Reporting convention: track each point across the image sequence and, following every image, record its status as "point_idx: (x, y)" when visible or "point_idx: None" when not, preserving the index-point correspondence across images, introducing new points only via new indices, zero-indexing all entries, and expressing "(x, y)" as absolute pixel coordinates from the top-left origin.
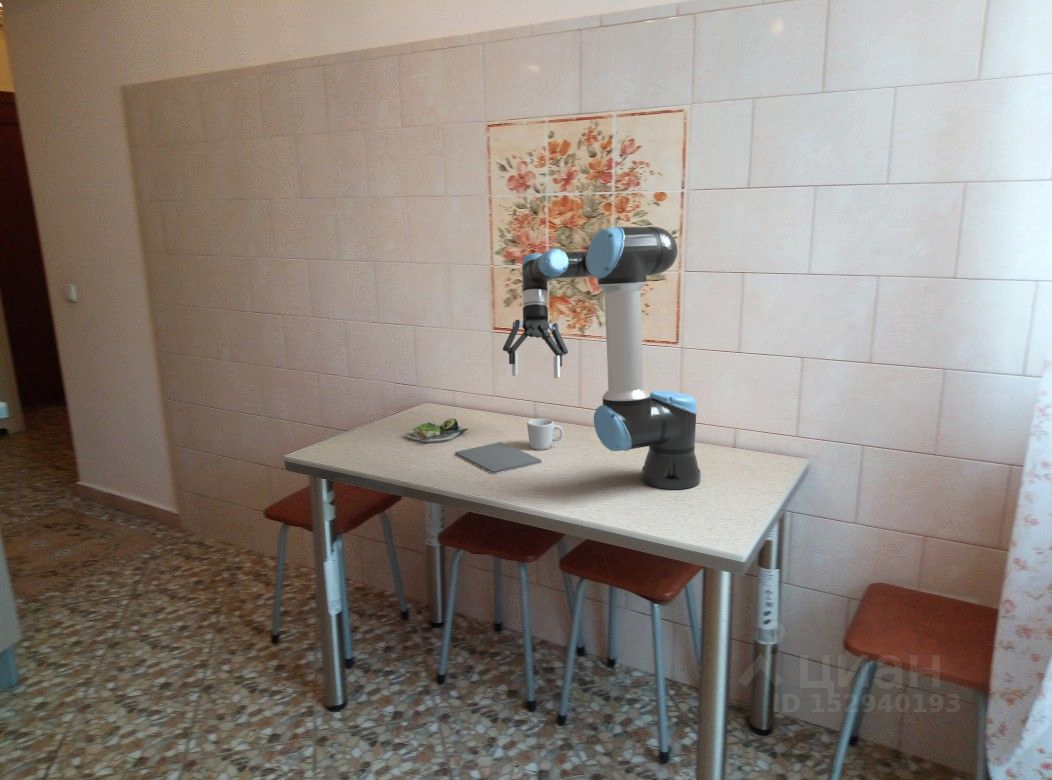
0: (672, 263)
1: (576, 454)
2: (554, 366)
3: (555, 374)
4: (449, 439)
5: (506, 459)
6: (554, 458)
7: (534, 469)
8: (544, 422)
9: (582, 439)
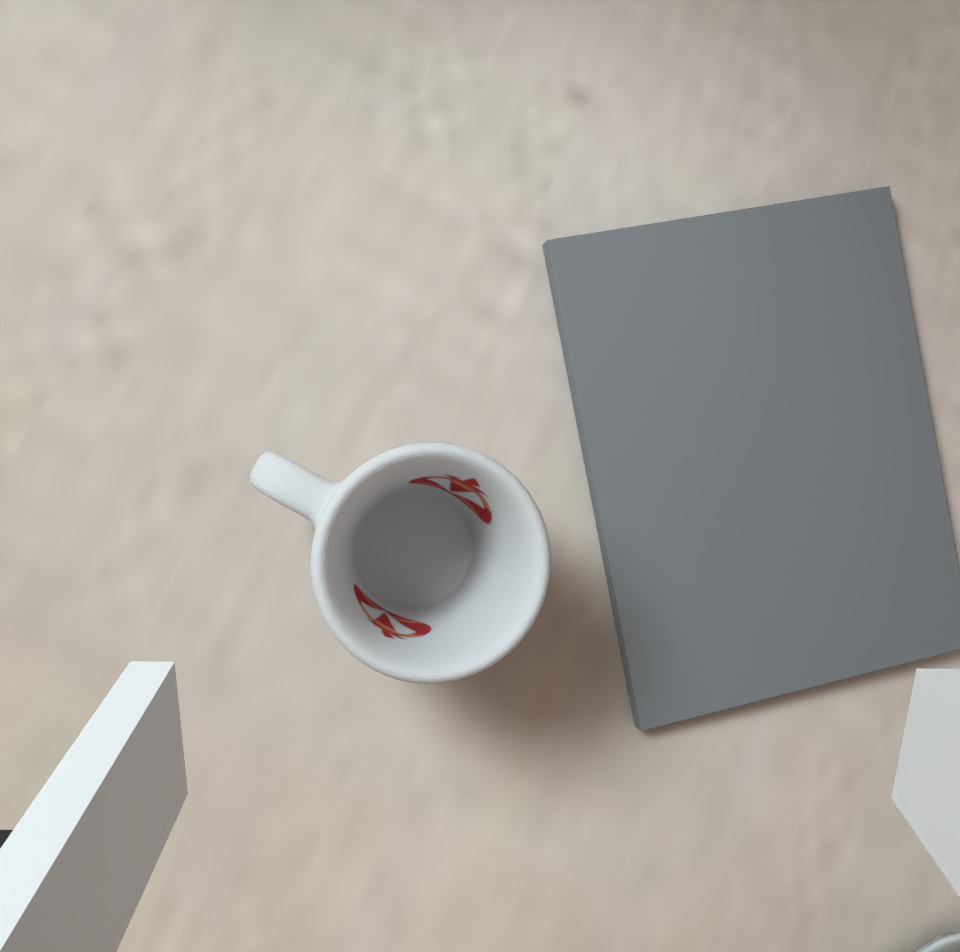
0: None
1: (247, 285)
2: (112, 916)
3: (163, 772)
4: (918, 949)
5: (744, 353)
6: (428, 279)
7: (634, 146)
8: (362, 625)
9: (23, 596)
